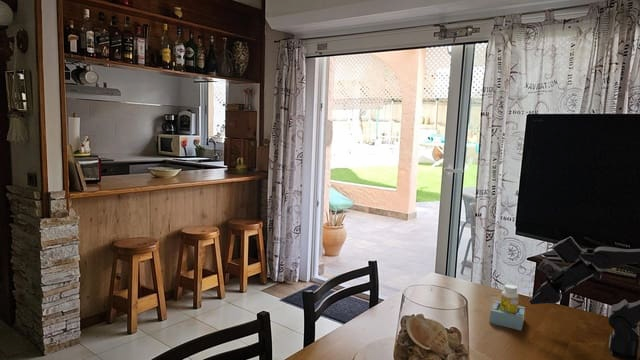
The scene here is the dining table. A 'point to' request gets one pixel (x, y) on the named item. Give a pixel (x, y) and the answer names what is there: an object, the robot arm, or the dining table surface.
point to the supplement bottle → (509, 299)
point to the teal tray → (507, 317)
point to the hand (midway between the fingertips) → (532, 298)
